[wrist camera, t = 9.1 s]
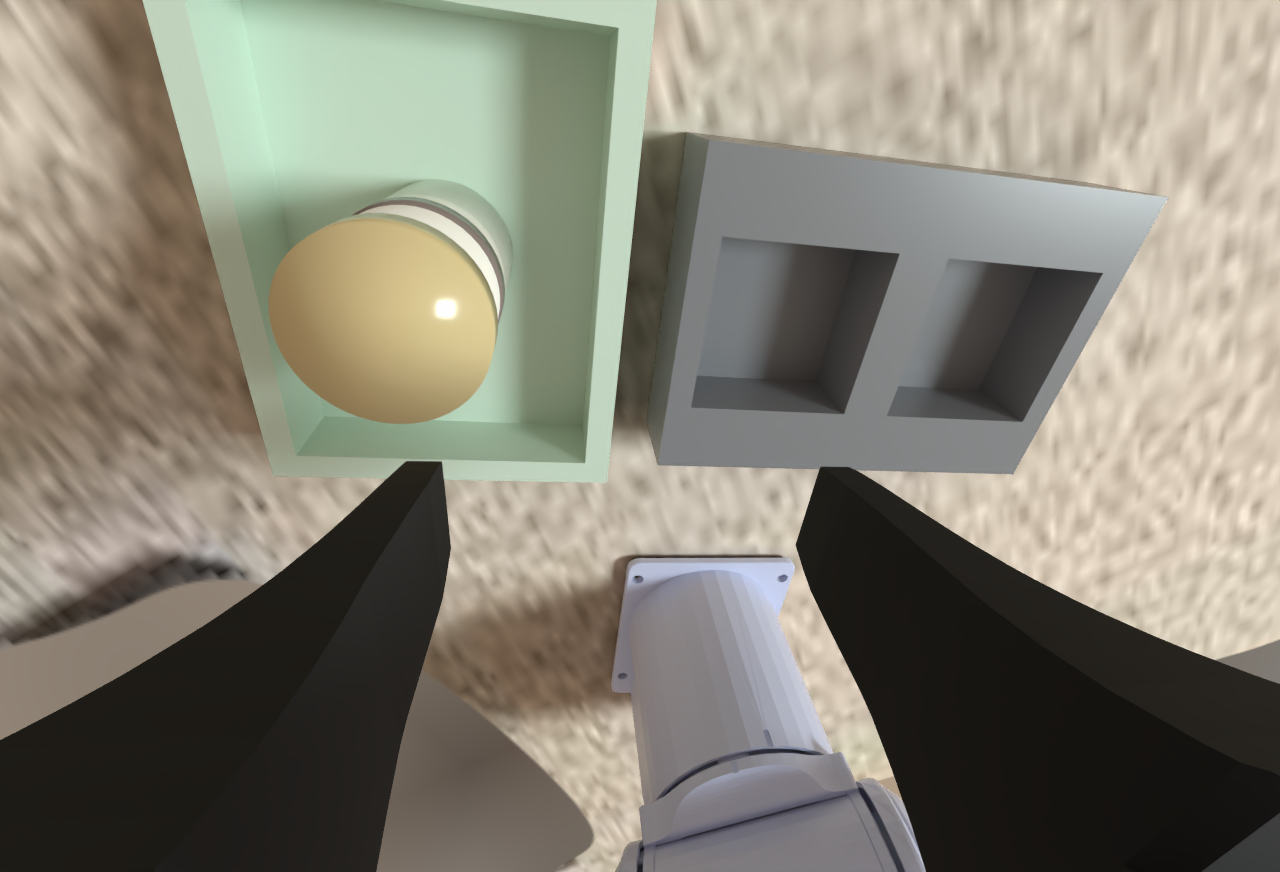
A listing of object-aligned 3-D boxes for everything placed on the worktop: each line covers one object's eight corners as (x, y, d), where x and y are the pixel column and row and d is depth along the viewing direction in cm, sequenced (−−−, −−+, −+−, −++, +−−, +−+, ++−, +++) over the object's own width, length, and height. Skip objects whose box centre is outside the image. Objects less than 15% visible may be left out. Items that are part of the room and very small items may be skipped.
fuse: (518, 319, 18) (498, 425, 13) (384, 314, 18) (296, 422, 12) (514, 180, 16) (487, 230, 10) (362, 170, 16) (241, 215, 10)
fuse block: (965, 433, 24) (1012, 474, 22) (646, 421, 22) (657, 465, 19) (1087, 182, 19) (1168, 197, 16) (686, 132, 17) (709, 139, 14)
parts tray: (601, 437, 22) (606, 482, 19) (308, 427, 20) (273, 476, 18) (641, 5, 15) (657, -11, 12) (199, -66, 13) (114, -103, 11)
